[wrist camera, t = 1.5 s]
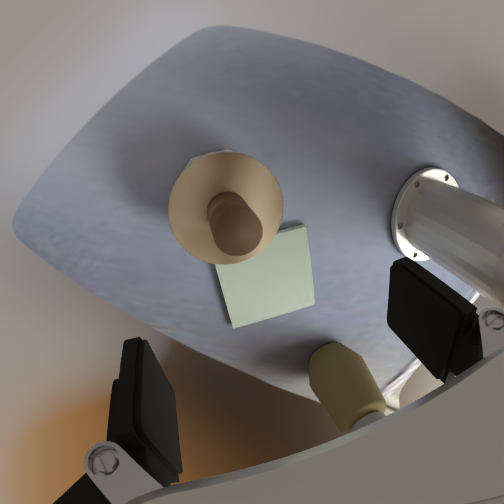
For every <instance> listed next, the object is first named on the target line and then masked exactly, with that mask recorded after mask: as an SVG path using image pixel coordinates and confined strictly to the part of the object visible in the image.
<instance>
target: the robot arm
mask: <svg viewBox="0 0 504 504" xmlns="http://www.w3.org/2000/svg"><path fill="white" fill-rule="evenodd" d="M391 230H392V237H393V240H394V243H395V245H396V247H397V249H398V250H399V251H400V252H401V253H402V254H403V255H404V256H406V257H404V258H401V259H398V260H396V261H394V262H393V266H391V268H390V283H389V299H388V311H387V323H388V326H389V327H390V328H391V330H392V331H393V332H394V333H395V334H396V335H397V336H398V337H399V338H400V339H401V340H402V341H403V342H404V344H405V345H406V346H407V347H408V348H409V349H410V350H411V351H412V352H413V353H414V355H415V356H416V357H417V358H418V359H419V360H420V361H421V362H422V363H423V364H424V366H425V367H426V368H427V369H428V370H429V371H430V372H431V373H432V375H433V376H434V377H435V378H436V379H440V380H441V381H442V382H443V383H444V384H443V385H442V386H440V387H438V388H437V389H435V390H433V391H432V392H430V393H428V394H427V395H425V396H423V397H421V398H420V399H418V400H416V401H415V402H413V403H411V404H409V405H407V406H405V407H403V408H401V409H399V410H398V411H396V412H394V413H392V414H390V415H388V416H386V417H384V418H382V419H380V420H378V421H375V422H373V423H371V424H369V425H367V426H365V427H363V428H360V429H358V430H356V431H354V432H351V433H349V434H347V435H345V436H342V437H339V438H337V439H335V440H332V441H329V442H327V443H324V444H322V445H319V446H316V447H314V448H311V449H308V450H305V451H303V452H300V453H297V454H294V455H291V456H288V457H284V458H281V459H278V460H275V461H271V462H268V463H265V464H261V465H257V466H254V467H250V468H246V469H243V470H238V471H235V472H231V473H226V474H222V475H218V476H213V477H208V478H204V479H199V480H194V481H190V482H185V483H180V484H176V485H172V486H171V484H170V483H174V482H179V477H178V474H180V473H182V471H183V470H182V461H181V453H180V446H179V445H180V444H179V434H178V424H177V413H176V401H175V394H174V390H173V388H172V386H171V384H170V382H169V381H168V379H167V377H166V375H165V373H164V372H163V370H162V368H161V366H160V364H159V362H158V360H157V359H156V357H155V355H154V353H153V351H152V349H151V347H150V345H149V343H148V341H147V340H142V339H141V338H140V337H137V338H132V339H128V340H125V341H124V344H123V351H122V358H121V365H120V373H119V379H116V380H114V381H113V385H112V393H111V400H110V409H109V419H108V429H107V441H103V442H100V443H97V444H95V445H94V446H92V447H91V448H90V449H89V450H88V451H87V453H86V455H85V457H84V469H85V471H86V473H85V474H84V475H83V476H82V477H81V478H80V479H79V480H78V481H77V482H76V483H75V484H74V485H73V486H71V487H70V488H69V489H68V490H67V491H66V492H65V493H64V494H63V495H62V496H61V497H60V498H58V500H56V501H55V502H54V503H53V504H504V206H502V205H499V204H497V203H495V202H492V201H490V200H488V199H485V198H483V197H480V196H478V195H475V194H473V193H470V192H468V191H465V190H463V189H460V188H459V187H458V185H457V183H456V181H455V179H454V178H453V177H452V176H451V174H450V173H448V172H447V171H445V170H442V169H439V168H435V167H429V168H424V169H422V170H419V171H417V172H416V173H415V174H413V175H412V176H411V177H410V178H409V179H408V180H407V181H406V182H405V184H404V186H403V187H402V189H401V190H400V192H399V194H398V196H397V198H396V201H395V204H394V208H393V212H392V218H391ZM428 259H431V260H433V261H434V262H436V263H437V264H439V265H440V266H442V267H443V268H445V269H446V270H447V271H449V272H450V273H452V274H453V275H455V276H456V277H457V278H459V279H460V280H462V281H463V282H464V283H466V284H467V285H469V286H470V287H471V288H473V289H474V290H475V291H477V292H478V293H479V294H481V295H482V296H484V297H485V298H486V299H488V300H489V301H490V302H491V303H493V304H494V305H496V306H497V307H498V308H499V309H498V308H493V307H492V308H486V309H484V310H482V311H481V312H480V314H479V315H478V314H477V313H476V310H477V308H476V307H475V306H474V305H473V304H471V303H470V302H469V301H468V300H466V299H465V298H464V297H462V296H461V295H460V294H458V293H457V292H456V291H454V290H453V289H452V288H451V287H449V286H448V285H447V284H445V283H444V282H442V281H441V280H440V279H438V278H437V277H436V276H434V275H433V274H432V273H430V272H429V271H427V270H426V269H425V268H423V267H422V266H420V265H419V264H418V263H416V262H415V261H425V260H428ZM455 376H456V377H455Z"/></svg>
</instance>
